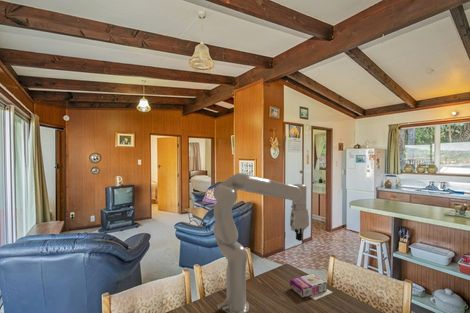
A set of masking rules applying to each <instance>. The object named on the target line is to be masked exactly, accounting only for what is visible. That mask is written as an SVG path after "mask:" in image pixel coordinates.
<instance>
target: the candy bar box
mask: <svg viewBox="0 0 470 313" xmlns="http://www.w3.org/2000/svg"><path fill="white" fill-rule="evenodd" d="M289 288H290V289H292V290H293V291H294V292H295V293H296V294H297V295H299V296H300V298H302V299H304V298H307V297H309V296H310V295H314V294H317V293H321V292H324V291H327V289H328V283H327V281H325V280H324V279H323V278H321V277H320V276H317V275H316V274H314V273H310V274H306V275H302V276H298V277H295V278H289Z"/></svg>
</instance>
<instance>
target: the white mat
mask: <svg viewBox="0 0 470 313" xmlns="http://www.w3.org/2000/svg"><path fill="white" fill-rule="evenodd" d="M331 294H333V291H332V290H329V289H328V288H327V291H324V292H321V293H317V294H314V295H310V296H308V297H309V298H311V299H312V300H314V301H317V300H319V299H323V298H324V297H326V296H328V295H331Z"/></svg>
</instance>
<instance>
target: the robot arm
mask: <svg viewBox="0 0 470 313" xmlns="http://www.w3.org/2000/svg"><path fill="white" fill-rule="evenodd" d="M239 190H240V191H242V192H245V193H251V194H257V195H261V196H267V197H270V198H271V197H274V198H278V199H283V200H289V201H291V203H292V204H291V206H290V207H291V208H290V209H291V210H290V217H289V225H290V230H291V231H293V232H295V240H297V241H299V242H301V241H303V234H304V231H305V230H306V229H308V227H309V225H310V218H309V211H308V208H307V185H306V184H303V183H295V184H288V183H284V182H280V181H277V180H273V179H269V178H267V177H265V178H264V177H261V176H256V175H252V174H247V173H241V172H239V173H235V174H233V175H231V176H230V177H229V178H227V179H225V180H223V181H222V182H220V183H219V184H218V185H216V186H215V188H214V189H213V192H212V193H213V194H212V196H213V198H214V199H215V200H216V203H215V205H214V208H213V219H214V221H215V223H214V225H213V231H212V232H213V235H214V238H215V241H216V244H217V246H218V249H219V252H220V253H221V254H222V256H224V257H225V259H226V260H227V266H226V272H225V273H226V274H225V277H226V282H225V283H226V284H225V285H226V298H224V301H223V302H222V303H219V304H217V305H216V306H217V309H218V310H220V309H222V311H223V312H225V313H248V312H249V310H250V304H249V302H248V301H247V280H246V279H247V277H246V276H247V271H246V270H247V261H248V252H247V250H246V248H245V247H244V246H243V245H242V244H241V243H239V242H238V239H239V231H238V228H237V225H236V223H235V220H234V217H233V213H232V212H233V208H234V205H235V203H236V202H237V201H238V193H237V191H239Z"/></svg>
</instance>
